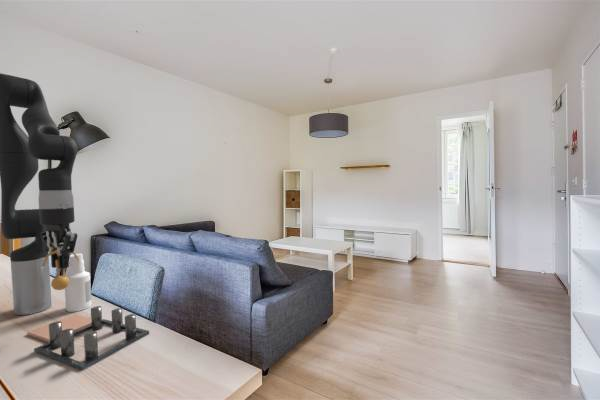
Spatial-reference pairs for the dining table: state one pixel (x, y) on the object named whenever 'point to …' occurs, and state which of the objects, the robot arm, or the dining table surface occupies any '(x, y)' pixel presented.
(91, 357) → the standoff field
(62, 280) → the figurine
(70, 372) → the dining table surface
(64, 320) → the terracotta tile
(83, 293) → the white piece
